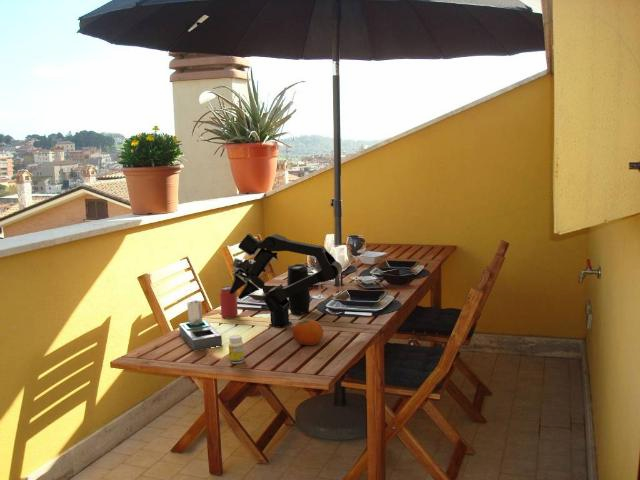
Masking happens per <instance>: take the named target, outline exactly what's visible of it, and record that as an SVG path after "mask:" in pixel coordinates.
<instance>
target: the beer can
mask: <svg viewBox="0 0 640 480" xmlns="http://www.w3.org/2000/svg"><path fill="white" fill-rule="evenodd" d="M231 287H232V285H226V286H222V287H221V288H220V292H219V298H220V300H219V301H220V302H219V303H220V312H221V313H220V315H221V317H222V318H224V319H232V318H235V317H237V316H238V314H239V313H238V300H237V299H238V298H237V297H238V296H237V291H236V292H234V293H233V294H230V293H229V292H230V289H231Z"/></svg>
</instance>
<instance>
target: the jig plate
mask: <svg viewBox="0 0 640 480" xmlns="http://www.w3.org/2000/svg"><path fill="white" fill-rule="evenodd" d="M202 320H203V326H200V327H194V328H189V321H188V322H181V323H179V324H178V326H179V327H178V329H179V335H180V336H181V338H182V339H183V340H184V341H185V343H187V345H188V344H189V345H190V346H191V347H192V348H191V347H190V346H189V347H190V348H191V350H192V351H193V350H199V351H202V350H201V349H204V350H207V349H206V348H210V349H212V348H211V347H215V348H217V347H216V346H221V347H223V339H222V334H221V333H220V332H219V331H218V330H217V329H216V328H215V327H214V326H212V325H211V323H210V322H208V321H207V320H206V319H202Z"/></svg>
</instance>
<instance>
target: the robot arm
mask: <svg viewBox="0 0 640 480" xmlns="http://www.w3.org/2000/svg"><path fill="white" fill-rule="evenodd" d="M238 249H240V251H242V252H244V253H245V254H247V255H248V256H249V257H251V256H254V257H253V259H246V258H243V259H239V258H234V261H233V262H232V267H234V269H233V270H232V271H231V272H232V275H233V282H232V285H231V286H232V287H231V289H230V292H229V293H230V294H233V293H234V292H236V293H237V291H238V290H240V289H241V288H242V287H243V286H244V287H243V288H242V290H241V291H240V293H239V295H238V296H237V297H238V298H237V299H239V300H242V299H243V298H245V297H247V296H249V295H251V294H253V293H254V292H257V291H259V290H263V288H264V287H265V283H266V282H265V281H264V280H262V278H260V276H261V274H262V273H265V272H266V271H267V270H266V267H268V265H269V264H270V262H271V261H272V259H273V260H275V261H278V260H279V258H278V252H290V253H295V254H300V255H305V256H311V257H315V258H316V260H317V262H318V263H317V264H318V265H319V267H320V269H319V270H318V271H316V272H314V273H313V274H310V275H308V277H306V278H304V279H302V280H300V281H298V282H295V283H293V284H291V285H289V286H283V284H282V283H280V284H279V285H278V286H274V287H272V288H271V289H270V290H269V291H267V294H265V296H264V303H265V305H266V306H267V307H268V310H269V312H270V313H269V315H270V323H269V325H268V326H271V327H276V328H281V329H282V328H285V327H287V326H289V325H291V324H292V321H290V313H289V312H290V308H288V307H289V304H290V301H289V300H288V297H289V296H291V295H294V294H296V293H298V292H300V291H302V290H304V289H306V288H308V287H309V288H311V287H312V286H315V285H317V284H319V283H323V282H330V281H333V280H335V279H337V278H338V277H339V276H340V275H341V274H342V272H343V266H342V264H341V263H340V262H338V261H337V260H336V259H335V257H334V256H333V255H332V254H331V253H330V252H329V251H328V250H327V248H326V247H325V246H323V245H318V244H317V245H316V244H312V243H307V242H301V241H296V240H292V239H289V238H287V237H285V236H284V235H280V234H278V233H273V234H271V235H268V236H267V237H265V238H264V239H262V240H260V241H259V239H257V238H256V237H254V235H252V234H251V233H247V234H246V236H245V237H243V239H242V241H240V242H239V244H238Z"/></svg>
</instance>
